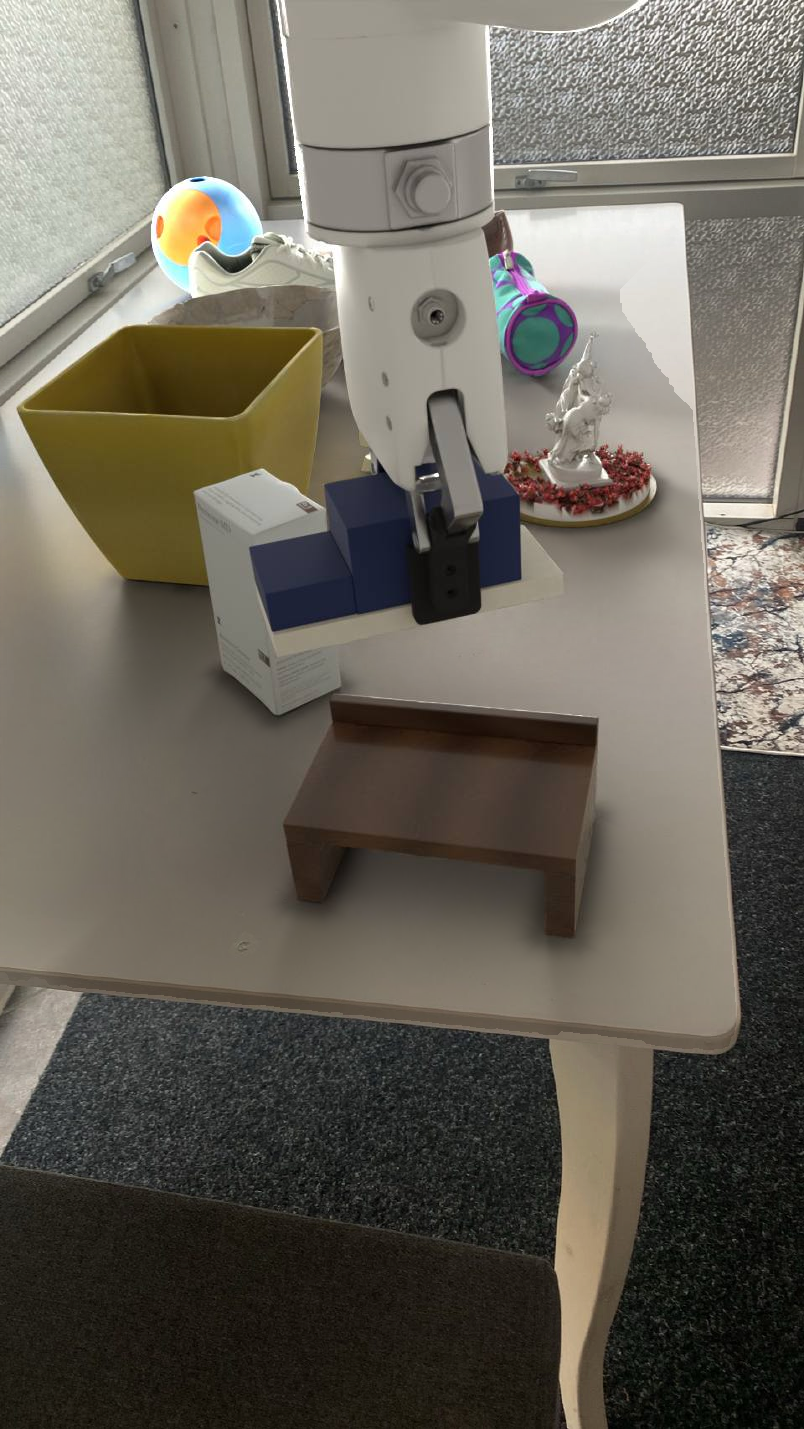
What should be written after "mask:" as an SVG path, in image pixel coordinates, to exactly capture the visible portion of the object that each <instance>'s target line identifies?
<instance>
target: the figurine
mask: <svg viewBox="0 0 804 1429" xmlns="http://www.w3.org/2000/svg"><path fill="white" fill-rule="evenodd" d="M599 336H600V334H599V333H598V331H594V332H592V333H591V334H590V336H589V340H588V341H587V344H586V346H585V349H584V352H583V355H582V357H581V360H580V361H578V363H575V364H573V365H571V370H570V372H569V373H568V377H567V378H566V380H565V382H564V384H563V387H562V390H561V395H560V396H559V399H558V401H557V403H556V405H555V407H554V409H553V413H552V412H551V413H546V414H545V424H546V427H547V428H548V430H549V431H550V432H553V433H554V434H555V444H554V447H553V449H552V450H551V451H550V450H549V449H547V448H545V449H542V454H540V453H541V451H540V450H536V452H535V453H537V454H539V455H537V456H532V454H530V452H528V451H527V449H524V452H523V453H524V455H523V454H522V453H520V452H517V450H513V451H512V452H510V454H509V456H508V462H507V465H506V467H505V469H504V470H503V472H502V474H503V476H504V477H505V478H506V479H507V480H508V482H509V483H510V484H511V485H512V486H513V488H514V489H515V490H516V491H517V492H518V493H519V495H520V521H521V520H522V521H525V522H528V523H532V524H536V525H542V526H547V527H556V528H586V527H595V526H602V525H603V526H604V525H607V524H612V523H616V522H619V521H622V520H626V519H628V518H630V517H633V516H635V515H637V514H638V513H640V512H642V511H643V510H645V509H646V508H647V507H648V506H649V505H650V504H651V503H652V502H653V501H654V499H655V497H656V494H657V487H658V486H657V481H656V479H655V477H654V476H653V474H652V464H651V463H650V462H648V463H647V462H646V461H644V452H642V451H641V452H640V453H639V452H638V451H637V450H635V451H633V450H631V451H629V449H627V450H626V451H625V450H624V449H623V443H621V444H620V445H618V446H617V450H614V451H613V452H609V451H608V448H609V447H610V446H609V444H608V443H605V444H604V445H603V444H602V445H600V446H599V448H598V450H596V449H597V447H598V444H599V439H600V438H599V437H600V426H601V422H602V419H603V416H607V415H609V414H610V411H611V410H610V409H611V404H612V396H613V395H612V393H611V392H608V393H607V394H606V395H605V394H604V395H602V394H603V379H602V378H601V377H599V376H595V375H594V373H595V369H597V368H598V362H592V361H593V358H592V356H591V355H590V354H591V350H592V346H593V345H592V344H593V341H594V339H596V338H598V337H599ZM596 383H597V384H598V387H597V391H595V384H596ZM590 426H592V427H593V431H592V430H591V429H590ZM590 435H593V444H592V440H591V436H590ZM624 451H625V453H624ZM509 458H511V459H509Z"/></svg>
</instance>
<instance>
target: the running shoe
mask: <svg viewBox="0 0 804 1429" xmlns="http://www.w3.org/2000/svg"><path fill="white" fill-rule="evenodd" d="M308 250H309V249H306V248H305V247H304V246H303V245H302V244H299V243H298V244H296V243H293V238H292V237H291V236H288V237H286V235H284V234H277V233H275V232H265V233H264V234H263V236H260V235H257V236H255V237H254V238H253V240H252V244H251V247H249V248H248V249H247V250H245V251H244V252H243V253H241V254H239V255H235V256H231V255H227V254H225V253H223V252H222V251H220V250H219V249H218V248H217V247H216V246H215V245H213V244H212V243H211V242H208V241H207V242H203V243H202V244H201V245H200V246H198V247H197V248H196V249H195V250H194V252H193V253H192V254H191V256H190V259H189V280H190V293H189V294H190V296H191V298H195V297H201V296H204V295H211V294H217V293H221V292H226V291H231V290H236V289H243V288H249V287H252V288H257V287H265V286H274V285H309V286H316V287H322V288H328V289H330V290H333V291H336V283H335V271H334V264H333V262H332V258H331V257H330V255H328V254H326V255H322V254H319V253H318V250H317V249H314V250H313V252H311V251H308Z"/></svg>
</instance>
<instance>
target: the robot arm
mask: <svg viewBox="0 0 804 1429" xmlns="http://www.w3.org/2000/svg"><path fill="white" fill-rule="evenodd" d="M646 2H648V0H276V6H277V14H278V23H279V30H280V38H281V44H282V46H281V47H282V54H283V60H284V61H283V62H284V67H285V73H286V74H285V76H286V83H287V92H288V99H289V105H290V106H289V107H290V114H291V120H292V128H293V136H294V146H295V147H294V148H295V156H296V163H297V170H298V171H297V172H298V179H299V186H300V187H299V188H300V195H301V201H302V211H303V218H304V227H305V232H306V235H307V236H308V237H309V238H311V239H312V240H315V241H317V242H322V243H325V244H327V245H332V248H333V257H332V262H333V264H334V271H335V283H336V295H337V306H338V316H339V326H340V335H341V344H342V353H343V358H342V360H343V367H344V375H345V380H346V381H345V382H346V387H347V393H348V399H349V404H350V408H351V412H352V415H353V418H354V421H355V423H356V426H357V428H358V427H359V428H358V430H359V429H360V431H361V433H362V434H363V436H364V438H365V439H366V441H367V443H368V444H369V446H370V448H369V449H370V452H369V453H371V471H370V472H371V475H373V474H378V473H383V472H387V474H388V475H389V477H390V478H391V479H392V481H393V482H394V483H395V484H397V485H398V486H400V487H401V488H403V489H405V494H406V500H407V507H408V513H409V519H410V525H411V531H412V538H413V544H408V545H406V550H407V561H408V572H409V583H410V594H411V605H412V615H413V617H414V619H415V621H416V622H417V624H419V625H422V626H427V625H432V624H436V623H440V621H441V622H444V621H450V620H455V619H458V618H463V616H464V617H468V616H472V614H473V615H476V613H477V612H479V610H480V609H481V584H480V562H479V527H478V521H479V518H480V517H481V516H482V514H483V502H482V498H481V494H480V490H479V486H478V482H477V477H476V473H475V469H474V465H473V461H472V458H473V459H474V460H475V461H476V463H477V464H478V465H479V466H480V468H481V469H482V470H483V471H484V473H485V474H487V473H489V474H491V475H493V476H495V475H499V474H501V473H502V472H503V471H504V469H505V467H506V465H507V463H508V462H509V458H508V457H509V454H508V436H507V422H506V408H505V394H504V383H503V382H504V381H503V368H502V357H501V356H502V355H501V354H502V353H501V352H500V342H499V332H498V322H497V312H496V304H495V296H494V288H493V281H492V274H491V268H490V262H489V256H488V251H487V246H486V241H485V235H484V232H483V230H482V228H481V227H482V226H484V225H486V224H487V223H489V222H490V221H491V220H492V219H493V217H494V214H495V213H496V212H495V211H496V210H495V209H496V208H495V189H494V158H493V157H494V156H493V155H494V153H493V127H492V126H493V125H492V124H493V123H492V121H493V120H492V119H493V117H492V116H493V115H492V90H491V89H492V86H491V84H492V83H491V56H490V55H491V54H490V52H491V51H490V27H496V28H504V29H509V30H510V29H511V30H519V31H525V32H526V31H527V32H537V33H553V34H559V33H572V32H580V31H584V30H589V29H592V28H596V27H600V26H602V25H605V24H607V23H610V22H612V21H614V20H616V19H618V18H620V17H622V16H624V15H626V14H627V13H629V12H631V11H633V10H635V9H636V8H638V7H639V6H641V5H643V4H645V3H646ZM431 462H435V464H436V468H437V472H438V473H436V474H431V475H425V476H420V477H418V476H417V474H416V468H415V466H419V465H424V464H429V463H431ZM439 490H442V500H441V502H440V503H441V506H439V507H434V508H432V510H431V512H430V514H429V517H428V519H427V516H426V509H425V503H424V497H423V494H424V493H429V492H434V491H439ZM477 614H478V613H477ZM449 619H450V620H449ZM431 623H432V624H431ZM426 624H427V625H426Z"/></svg>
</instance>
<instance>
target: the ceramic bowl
mask: <svg viewBox="0 0 804 1429" xmlns="http://www.w3.org/2000/svg"><path fill="white" fill-rule="evenodd" d="M146 325H199V326H252V327H296V328H317V329H320V330H321V331H322V343H323V345H322V378H321V390H322V389H323V388H325V386H326V385H327V384H328V383H329V382H330V381H331V379H333V377H334V375H335V374H336V372H337V370H338V368H339V366H340V365H341V361H342V360H343V353H342V344H341V335H340V326H339V316H338V306H337V295H336V291H333V290H330V289H328V288H322V287H316V286H309V285H274V286H265V287H257V288H252V287H249V288H243V289H236V290H231V291H226V292H221V293H217V294H211V295H204V296H201V297H195V298H192V297H191V298H188V299H186V300H183V301H182V302H181V303H180V302H179V303H176V304H175V305H173V306H171V307H169V308H167V309H165V310H163V311H161V312H159V313H157V314H155V315H154V316H153V317H152V318H151V319H149V321H147V324H146Z"/></svg>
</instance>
